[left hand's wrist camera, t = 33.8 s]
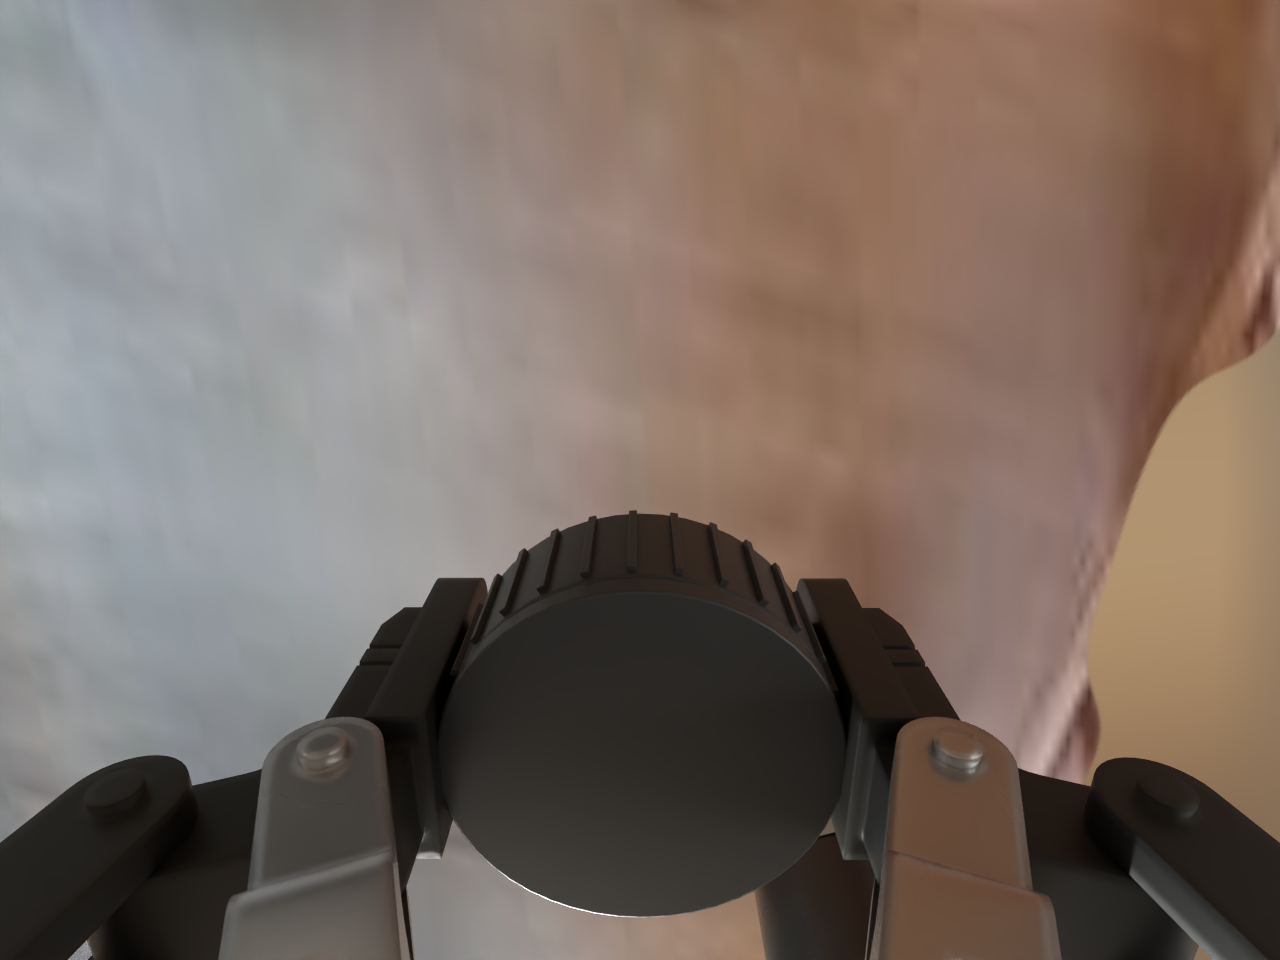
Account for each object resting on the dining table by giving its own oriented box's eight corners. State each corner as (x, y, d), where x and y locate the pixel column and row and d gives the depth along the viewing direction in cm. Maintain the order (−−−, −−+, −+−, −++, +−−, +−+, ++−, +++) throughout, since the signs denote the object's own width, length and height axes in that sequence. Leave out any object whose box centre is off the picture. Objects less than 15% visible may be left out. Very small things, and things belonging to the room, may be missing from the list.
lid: (886, 661, 11) (942, 767, 9) (645, 848, 13) (646, 977, 11) (637, 431, 10) (636, 494, 8) (398, 669, 11) (343, 776, 9)
